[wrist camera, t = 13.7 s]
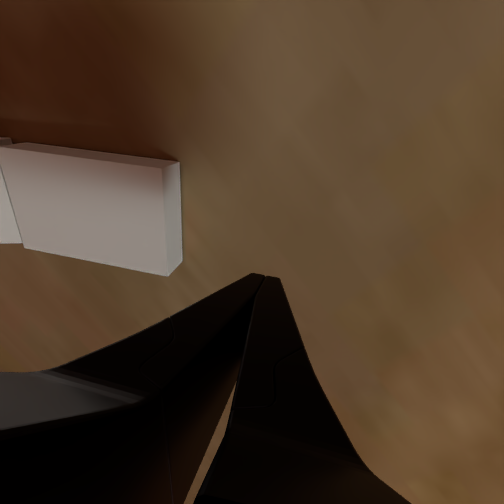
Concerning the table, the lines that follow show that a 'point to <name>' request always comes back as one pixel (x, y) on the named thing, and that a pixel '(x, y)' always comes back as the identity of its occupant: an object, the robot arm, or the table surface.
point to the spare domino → (96, 205)
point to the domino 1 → (7, 209)
